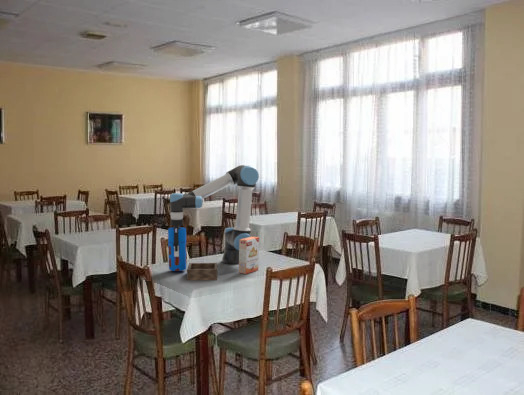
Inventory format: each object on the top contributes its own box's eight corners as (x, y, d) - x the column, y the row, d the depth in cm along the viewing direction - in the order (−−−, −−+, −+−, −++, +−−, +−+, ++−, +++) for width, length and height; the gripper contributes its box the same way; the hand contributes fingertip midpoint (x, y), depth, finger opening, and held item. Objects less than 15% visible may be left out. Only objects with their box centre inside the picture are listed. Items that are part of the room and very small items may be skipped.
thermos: (185, 270, 310) (185, 229, 307) (167, 271, 309) (167, 230, 306) (187, 266, 320) (186, 227, 318) (169, 266, 320) (169, 227, 317)
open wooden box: (217, 272, 313) (217, 262, 312) (216, 279, 296) (216, 269, 296) (189, 272, 312) (189, 263, 311) (187, 279, 295) (187, 269, 294)
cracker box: (246, 274, 308) (246, 240, 306) (238, 273, 312) (238, 239, 310) (259, 270, 320) (259, 237, 318) (251, 268, 323) (251, 236, 321)
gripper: (172, 216, 323) (173, 250, 325) (168, 221, 300) (169, 258, 302) (184, 216, 323) (185, 250, 326) (181, 221, 300) (182, 258, 302)
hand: (177, 254), depth 314 cm, fingers closed on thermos, 11 cm apart
